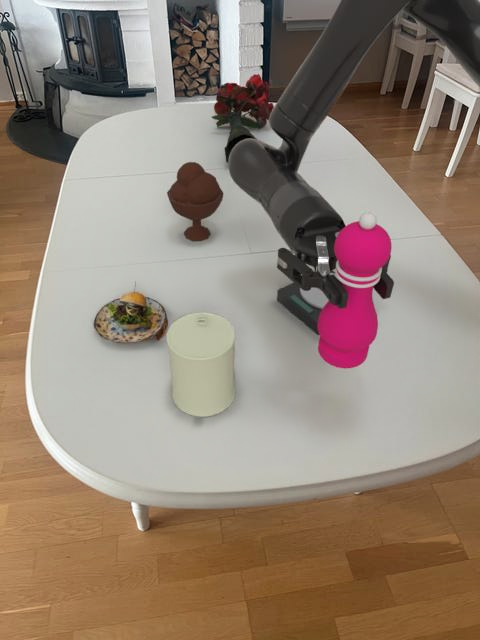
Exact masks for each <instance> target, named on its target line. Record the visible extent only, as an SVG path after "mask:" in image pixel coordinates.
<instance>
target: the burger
mask: <svg viewBox="0 0 480 640" xmlns="http://www.w3.org/2000/svg"><path fill="white" fill-rule="evenodd" d="M134 283H135V284H134V288H136V285H137V281H135V282H134ZM168 325H169V320H168V315H167V311H166V309H165V307H164V306H163V305H162V304H161V303H160V302H159V301H157V300H155V299H153V298H151V297H147V296H145V295H144V294H143V293H141V292H138V291H136V289H134V290H133V291H128V292H126V293H124V294H123V295H122V296H120V297H118V298H115V299H113V300H112V301H110V302H107V303H106V304H105V305H104V306H102V307H100V309H99V311H98V312H97V313H96V315H95V317H94V320H93V328H94V330H95V331H96V332H97V334H98V335H99V336H100V337H102V338H104V339H107V340H109V341H112V342H115V343H117V344H119V343H122V344H125V343H138V342H145V341H149V340H150V339H152V338H155V340H156V341H158V342H159V341H160V340H161V339H162V338H163V337H164V336H165V335H166V332H165V329H166V326H168Z"/></svg>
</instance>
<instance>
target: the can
mask: <svg viewBox="0 0 480 640" xmlns="http://www.w3.org/2000/svg"><path fill="white" fill-rule="evenodd" d="M166 343H167V349H168V357H169V358H168V359H169V366H170V375H171V383H172V384H171V385H172V390H171V396H172V400H173V402H174V404H175V406H176V407H177V408H178V409H179V410H181V412H184V413H185V414H188V415H189V416H193V417H201V418H205V417H212V416H216V415H218V414H220V413H222V412H224V411H225V410H227V408H229V407H230V406H231V404H232V403H233V401H234V400H235V396H236V385H235V351H236V350H235V345H236V330H235V328H234V326H233V325H232V323H231V322H230V321H229V320H228V319H227V318H225V317H224V316H221V315H218V314H215V313H212V312H193V313H189V314H186V315H183V316H180V318H178V319H176V320H175V321H173V322H172V323H171V325H170V326H169V328H168V329H167V332H166Z"/></svg>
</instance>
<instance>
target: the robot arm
mask: <svg viewBox="0 0 480 640" xmlns="http://www.w3.org/2000/svg"><path fill="white" fill-rule="evenodd" d="M401 12H404V13H405V14H406V15H408V16H409V17H410V18H412V19H414V20H415V21H416V22H418V24H420V25H422V26H423V27H424V28H426V29H427V30H428V31H430V33H432V34H433V35H434V36H435V37H437V39H438V40H440V41H441V42H442V44H443V45H444V46H445V47H446V48H447V50H448V51H449V52H450V54H451V55H452V56H453V58H454V59H455V60H456V61H457V62H458V64H459V65H460V66H461V67H462V69H463V70H464V71H465V73H466V74H467V75H468V76H469V77H470V78H471V80H473V82H474V83H475V84H476V85H477V86H478V87H479V88H480V0H340V1H339V3H338V4H337V7H336V9H335V11H334V12H333V14H332V16H331V18H330V19H329V21H328V22H327V25H326V26H325V28H324V30H323V31H322V33H321V35H320V37H319V38H318V39H317V41H316V43H315V44H314V46H313V47H312V49H311V50H310V52H309V53H308V54H307V56H306V57H305V59H304V61H303V62H302V63H301V65H300V66H299V68H298V69H297V71H296V72H295V74H294V75H293V77H292V79H291V80H290V81H289V83H288V85H287V86H286V87H285V90H284V91H283V93H282V94H281V95H280V97H279V98H278V100H277V102H276V103H275V105H274V108H273V109H272V112H271V114H270V116H269V120H268V124H269V127H270V128H271V130H272V131H273V132H274V133H275V134H276V135H277V136H278V137H279V138H280V139H281V140H282V142H281V144H280V146H279V148H276V147H274V146H272V145H271V144H269V143H266V142H264V141H261V140H260V139H258V138H256V139H253V138H248V139H244V140H242V141H240V142H238V143H237V144H236V145H235V146H234V148H233V149H232V151H231V153H230V156H229V161H228V162H227V165H228V173H229V176H230V178H231V179H232V180H233V182H234V183H235V185H237V187H239V189H241V191H243V192H244V193H245V194H247V195H248V196H249V197H250V198H252V199H253V200H255V202H257V203H258V204H259V205H260V206H261V207H262V209H263V210H264V212H265V213H266V215H267V216H268V217H269V219H270V220H271V223H272V225H273V227H274V228H275V230H276V232H277V233H278V234H279V236H280V237H281V238H282V240H283V241H284V243H285V244H286V246H287V247H288V248H285V247H280V248H278V249H277V260H276V261H277V263H276V268H277V269H278V270H279V271H280V273H282V274H283V275H285V276H286V277H287V278H288V279H289V280H290V281H291V282H292V283H295V284H296V285H297V286H299V287H300V288H301V289H302V290H304V291H309V290H311V288H317V289H318V290H320V291H322V292H323V293H324V294H325V296H326V297H327V299H328V300H329V301H330V303H331V304H333V305H337V307H338V308H339V309H342V308H346V307H347V302H348V292H347V291H346V290H345V288H344V287H343V286H342V284H341V283H340V282H339V281H338V279H337V278H336V277H335V275H334V274H333V275H330V271H332V270H333V271H335V269H336V262H337V258H336V256H335V252H334V245H335V240H336V238H337V236H338V234H339V232H340V231H341V230H342V229H343V228H344V227H345V226H346V223H345V221H344V219H343V218H342V216H341V215H340V214H339V212H337V210H336V209H335V208H334V207H333V206H332V205H331V204H330V203H329V201H328V200H326V198H325V197H324V196H323V195H322V194H321V193H320V192H319V191H318V190H317V189H315V188H314V187H313V186H311V185H310V184H309V183H308V182H307V181H306V180H305V178H303V176H302V175H301V174H300V173H299V172H298V171H299V170H300V167H301V163H302V162H303V161H302V160H303V159H304V157H305V154H306V152H307V149H308V147H309V144H310V142H311V140H312V138H313V137H314V136H315V134H316V132H317V131H318V130H319V128H320V127H321V125H322V124H323V123H324V121H325V120H326V118H327V117H328V116H329V114H330V112H331V111H332V110H333V109H334V107H335V105H336V104H337V102H338V101H339V99H340V98H341V96H342V94H343V93H344V91H345V90H346V88H347V86H348V85H349V83H350V81H351V79H352V77H353V75H355V72H356V71H357V69H358V67H359V65H360V64H361V62H362V61H363V59H364V57H365V56H366V54H367V53H368V52H369V50H370V49H371V48H372V46H373V45H374V43H375V42H376V40H377V39H378V38H379V37H380V36H381V34H382V33H383V32H384V30H385V29H386V28H387V27H388V26H389V25H390V24H391V22H393V20H394V19H396V17H397V16H398V15H399V14H400V13H401ZM391 258H392V254H391V255H390V257H389V259H388V261H387V263H386V264H385V265H384V266H382V272H381V274H380V280H379V282H378V283H377V284H375V285H374V287H373V290H374V291H375V292H376V293H377V294H378V296H379V297H380V298H381V299H382V300H386V299H390V298H391V296H392V292H393V289H394V285H395V281H394V279H393V278H392V277H391V276H390V275H389V274H388V270H389V269H388V268H389V265H390V261H391Z"/></svg>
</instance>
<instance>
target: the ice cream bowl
mask: <svg viewBox="0 0 480 640" xmlns="http://www.w3.org/2000/svg"><path fill="white" fill-rule="evenodd" d="M220 186H221V185H220V184H219V182H218V180H217V177H215V176H214V175H213V174H212V173H209V172H206V170H205V169H204V168H203V166H202V165H201V164H200V163H198V162H196V161H194V162H193V161H188V162H185V163H183V164H182V165H181V166H180V167H179V168H178V170H177V172H176V180H175V181H174V183H172V185H171V186H170V188H169V190H168V191H166V194H167V198H168V200H169V203H170V205H171V207H172V209H173V211H174V212H175V214H177V215H179V216H180V217H183V218H185V219H187V220H191V221H192V225H191V226H189V227H187V228H186V229H185V230H184V233H183V235H184V238H185V239H186V240H189V241H190V242H202V241H205V240H207V239H209V238H210V236H211V232H210V229H209V228H208V227H206V226H204V225H202V220H204V219H206V218H209V217H211V216H212V215H213V214H215V212H216V211H217V210H218V208H219V207H220V206H221V204H222V202H223V200H224V199H223V198H224V195H225V194H224V191H223V190H222V188H221V187H220Z"/></svg>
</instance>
